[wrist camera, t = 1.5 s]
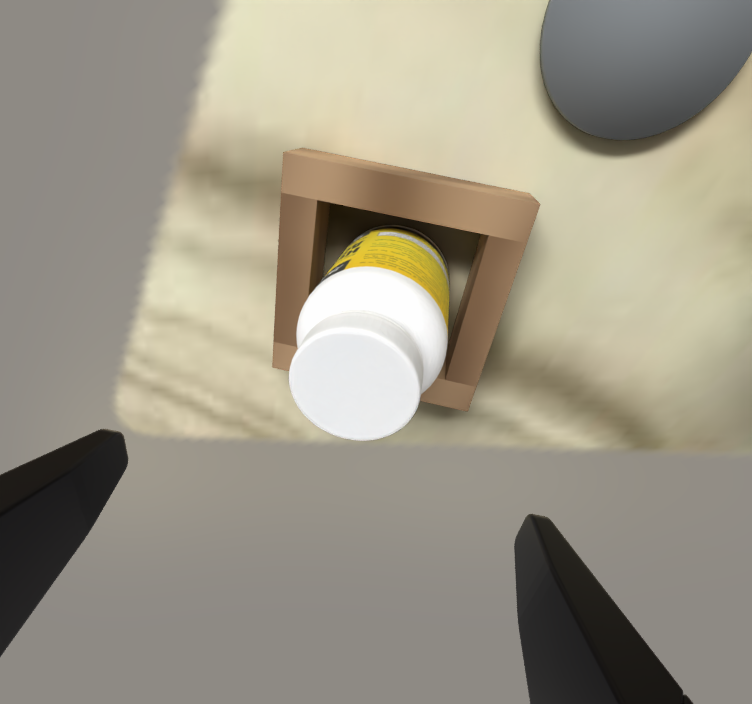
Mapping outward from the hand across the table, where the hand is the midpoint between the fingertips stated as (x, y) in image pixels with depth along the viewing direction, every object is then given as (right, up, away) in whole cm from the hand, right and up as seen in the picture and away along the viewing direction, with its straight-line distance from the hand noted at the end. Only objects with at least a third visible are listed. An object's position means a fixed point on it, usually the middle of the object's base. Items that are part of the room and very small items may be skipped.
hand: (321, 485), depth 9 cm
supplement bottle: (+2, +7, +12) cm, 14 cm away
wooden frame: (+2, +7, +12) cm, 13 cm away
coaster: (+11, +14, +6) cm, 19 cm away
